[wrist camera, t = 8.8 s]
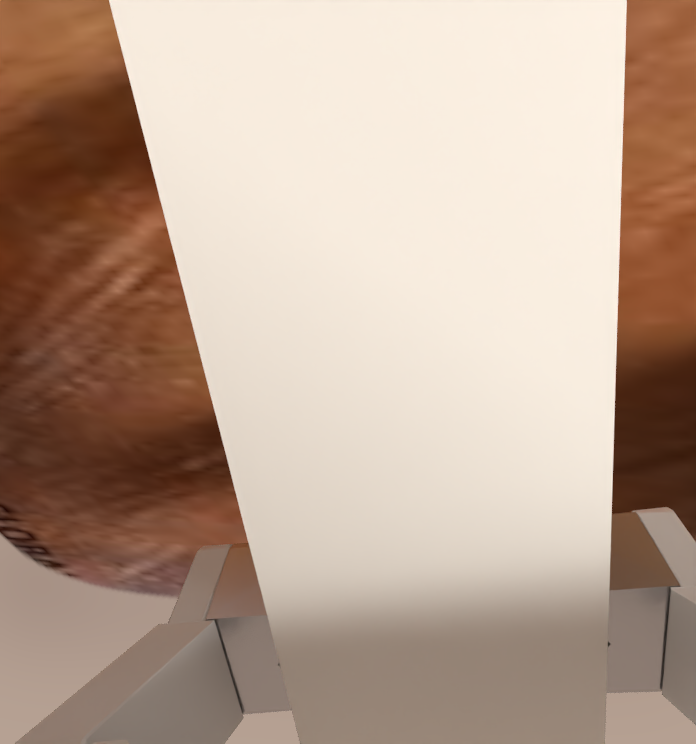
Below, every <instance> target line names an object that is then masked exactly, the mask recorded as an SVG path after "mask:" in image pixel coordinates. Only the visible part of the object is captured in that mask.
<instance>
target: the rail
mask: <svg viewBox="0 0 696 744" xmlns="http://www.w3.org/2000/svg"><path fill="white" fill-rule="evenodd" d="M109 2H110V6H111V10H112V14H113V18H114V22H115V26H116V30H117V33H118V37H119V41H120V45H121V49H122V53H123V57H124V61H125V64H126V68H127V72H128V76H129V80H130V84H131V88H132V92H133V96H134V99H135V103H136V107H137V111H138V115H139V119H140V123H141V127H142V131H143V134H144V138H145V142H146V146H147V150H148V154H149V158H150V162H151V166H152V169H153V173H154V177H155V181H156V185H157V189H158V193H159V197H160V201H161V204H162V208H163V212H164V216H165V220H166V224H167V228H168V232H169V236H170V239H171V243H172V247H173V251H174V255H175V259H176V263H177V267H178V271H179V274H180V278H181V282H182V286H183V290H184V294H185V298H186V302H187V306H188V309H189V313H190V317H191V321H192V325H193V329H194V333H195V337H196V340H197V344H198V348H199V352H200V356H201V360H202V364H203V368H204V372H205V375H206V379H207V383H208V387H209V391H210V395H211V399H212V403H213V407H214V410H215V414H216V418H217V422H218V426H219V430H220V434H221V438H222V442H223V445H224V449H225V453H226V457H227V461H228V465H229V469H230V473H231V477H232V480H233V484H234V488H235V492H236V496H237V500H238V504H239V508H240V512H241V515H242V519H243V523H244V527H245V531H246V535H247V539H248V543H249V547H250V550H251V554H252V558H253V562H254V566H255V570H256V574H257V578H258V582H259V585H260V589H261V593H262V597H263V601H264V605H265V609H266V613H267V616H268V620H269V624H270V628H271V632H272V636H273V640H274V644H275V648H276V651H277V655H278V659H279V663H280V667H281V671H282V675H283V679H284V683H285V686H286V690H287V694H288V698H289V702H290V706H291V710H292V714H293V717H294V721H295V725H296V729H297V733H298V737H299V741H300V744H605V723H606V689H607V655H608V621H609V587H610V553H611V519H612V485H613V451H614V417H615V383H616V349H617V314H618V280H619V246H620V212H621V178H622V144H623V110H624V76H625V42H626V8H627V0H109Z"/></svg>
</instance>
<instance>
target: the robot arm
mask: <svg viewBox="0 0 696 744" xmlns="http://www.w3.org/2000/svg"><path fill="white" fill-rule="evenodd" d="M657 691H662V695H663V696H664V697H665V698H666V699H668V700H669V701H670V702H671V703H672V704H673V705H674V706H675V707H676V708H677V709H679V710H680V711H681V712H682V713H683V714H684V715H685V716H686V717H687V718H689V719H690V720H691V721H692V722H693V723H694V724H695V725H696V542H695V540H694V539H693V537H692V536H691V535H690V533H689V532H688V530H687V529H686V528H685V526H684V525H683V523H682V522H681V521H680V519H679V518H678V516H677V515H676V514H675V512H674V511H673V510H672V509H670V508H668V507H661V508H652V509H643V510H634V511H632V512H624V513H612V519H611V553H610V587H609V621H608V655H607V689H606V693H622V692H657ZM289 710H291V706H290V702H289V698H288V694H287V690H286V686H285V683H284V679H283V675H282V671H281V667H280V663H279V659H278V655H277V651H276V648H275V644H274V640H273V636H272V632H271V628H270V624H269V620H268V616H267V613H266V609H265V605H264V601H263V597H262V593H261V589H260V585H259V582H258V578H257V574H256V570H255V566H254V562H253V558H252V554H251V550H250V547H249V543H237V544H233V545H232V544H226V545H212V546H203V547H202V548H201V549H200V550H198V552H197V553H196V556H195V558H194V561H193V563H192V566H191V568H190V570H189V573H188V575H187V578H186V580H185V583H184V585H183V588H182V590H181V592H180V595H179V597H178V600H177V602H176V605H175V607H174V610H173V612H172V615H171V617H170V619H169V622H168V624H158V625H157V626H156V627H155V628H153V629H152V630H151V631H150V632H149V633H147V634H146V635H145V636H144V637H143V638H141V639H140V640H139V641H138V642H136V643H135V644H134V645H133V646H132V647H130V648H129V649H128V650H127V651H126V652H124V653H123V654H122V655H121V656H120V657H118V658H117V659H116V660H115V661H114V662H112V663H111V664H110V665H109V666H108V667H106V668H105V669H104V670H103V671H101V672H100V673H99V674H98V675H97V676H95V677H94V678H93V679H92V680H91V681H89V682H88V683H87V684H86V685H85V686H83V687H82V688H81V689H80V690H78V691H77V692H76V693H75V694H74V695H73V696H71V697H70V698H69V699H68V700H66V701H65V702H64V703H63V704H62V705H60V706H59V707H58V708H57V709H56V710H54V711H53V712H52V713H51V714H50V715H48V716H47V717H46V718H45V719H44V720H42V721H41V722H40V723H39V724H38V725H36V726H35V727H34V728H33V729H31V730H30V731H29V732H28V733H27V734H25V735H24V736H23V737H22V738H21V739H19V740H18V741H17V742H16V743H15V744H225V742H226V741H227V740H228V738H229V737H230V736H231V734H232V733H233V731H234V730H235V729H236V727H237V726H238V725H239V723H240V722H241V721H242V719H243V714H252V713H265V712H277V711H289Z"/></svg>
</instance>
